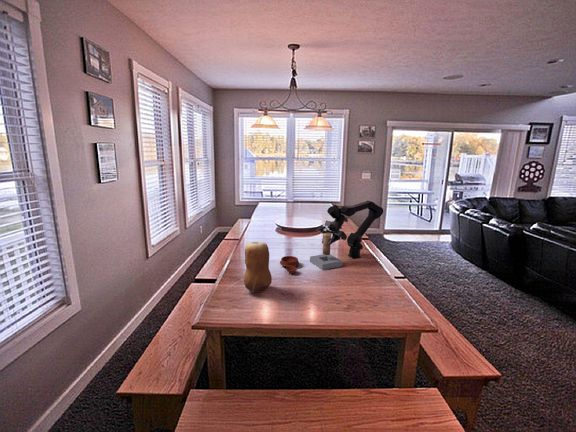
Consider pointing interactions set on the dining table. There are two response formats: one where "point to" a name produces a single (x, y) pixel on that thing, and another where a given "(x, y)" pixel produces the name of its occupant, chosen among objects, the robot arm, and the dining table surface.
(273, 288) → the dining table surface
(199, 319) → the dining table surface
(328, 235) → the tan wooden cylinder
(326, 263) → the socket block
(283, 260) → the pottery
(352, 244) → the robot arm
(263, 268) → the butternut squash
